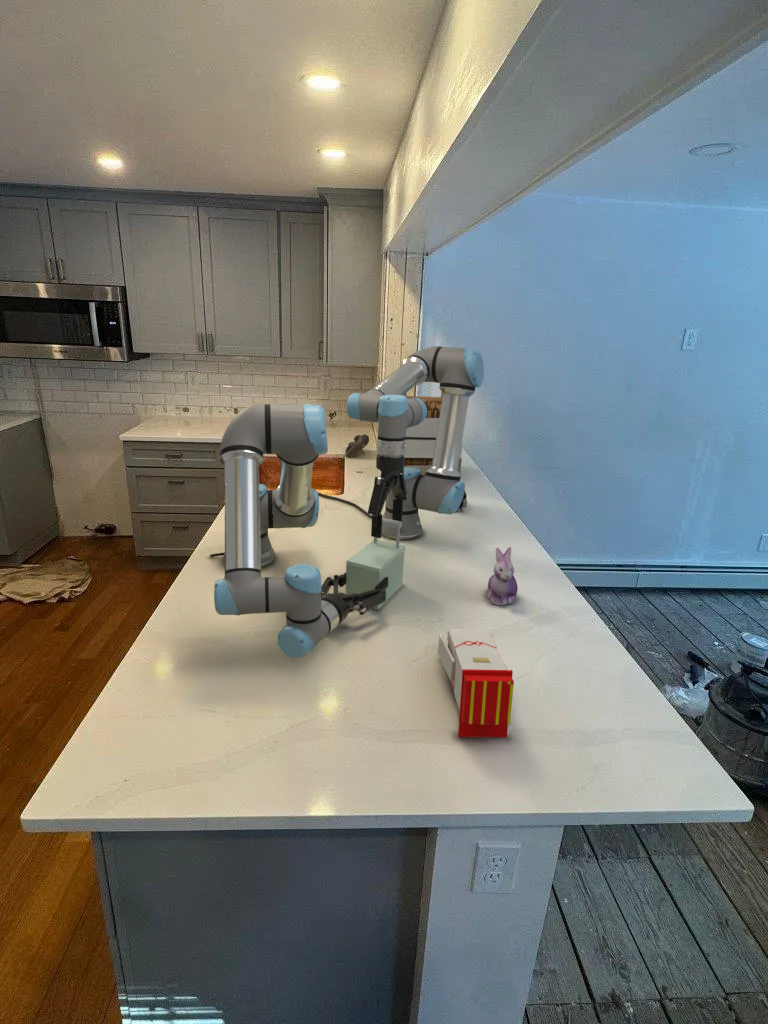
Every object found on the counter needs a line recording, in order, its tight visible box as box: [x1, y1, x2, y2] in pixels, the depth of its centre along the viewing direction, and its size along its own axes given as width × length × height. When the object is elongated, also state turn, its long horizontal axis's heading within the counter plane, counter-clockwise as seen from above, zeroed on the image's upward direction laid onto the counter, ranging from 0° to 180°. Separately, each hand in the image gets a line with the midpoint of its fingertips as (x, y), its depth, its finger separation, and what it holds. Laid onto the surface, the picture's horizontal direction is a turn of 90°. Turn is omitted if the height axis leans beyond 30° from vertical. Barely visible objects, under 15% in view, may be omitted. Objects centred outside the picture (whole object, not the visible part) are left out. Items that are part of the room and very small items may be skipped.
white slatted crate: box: [403, 391, 465, 475], centre depth 268 cm, size 34×33×41 cm
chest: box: [345, 551, 405, 611], centre depth 156 cm, size 16×10×11 cm, turn 155°
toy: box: [437, 628, 515, 738], centre depth 117 cm, size 12×13×30 cm
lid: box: [345, 517, 407, 573], centre depth 153 cm, size 17×10×9 cm, turn 155°
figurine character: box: [457, 490, 468, 512], centre depth 228 cm, size 7×8×15 cm
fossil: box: [344, 433, 370, 458], centre depth 304 cm, size 22×10×15 cm
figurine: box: [486, 546, 518, 606], centre depth 155 cm, size 9×10×15 cm
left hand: (369, 577), depth 152 cm, fingers closed on chest, 10 cm apart
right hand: (386, 529), depth 157 cm, fingers open, 13 cm apart
